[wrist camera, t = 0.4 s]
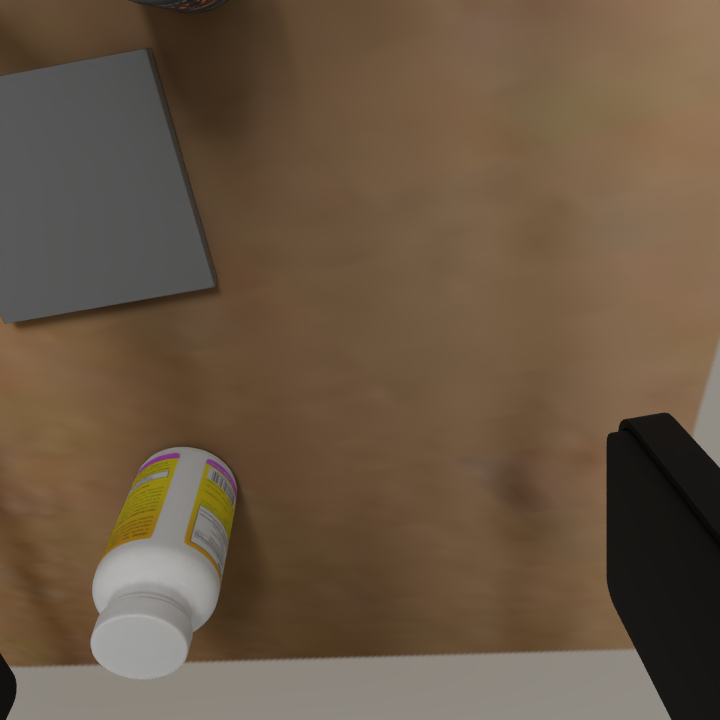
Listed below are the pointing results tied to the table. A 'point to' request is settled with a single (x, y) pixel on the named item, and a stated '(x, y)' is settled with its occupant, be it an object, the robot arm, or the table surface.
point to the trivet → (93, 191)
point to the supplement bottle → (163, 563)
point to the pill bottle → (184, 4)
